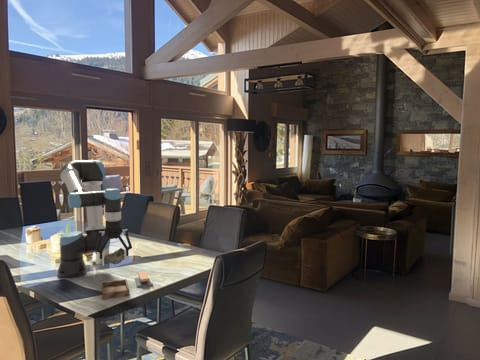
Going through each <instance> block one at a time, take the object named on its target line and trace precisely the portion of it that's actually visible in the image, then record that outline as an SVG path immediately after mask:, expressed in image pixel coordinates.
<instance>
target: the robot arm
mask: <svg viewBox="0 0 480 360" xmlns="http://www.w3.org/2000/svg"><path fill="white" fill-rule="evenodd" d="M59 178H60V180H61V181H62V182H63V183H64V184H65V186H66V189H67V191H68V193H67V204H68V207H69V208H70V209H80V208H86V217H87V218H86V219H87V220H86V221H87V227H86V229H85V232H84V233H83V231H80V230H77V231H75V230H74V231H70V232H66V233H64V234H62V235H61V236H60V238H59V248H60V253H59V254H60V263H59V266H58V269H57V277H59V278H63V279H72V278H78V277H82V276H83V275H85V274H86V273H87V272H88V270H87V266H86V263H85V260H84V255H86V254H92V253H99V259H100V260H102V261H101V262H102V265H101V266H102V267H105V262H104V257H105V252H104V251H108V249H109V248H110V245H111V240H114V239H115V240H116V239H118V240H119V241H120V243H121V245H122V246H123V247H124V248H123V249H124V264H127V257H129V253H130V252H129V250H131V249H133V245H132V243H131V239H130V236H129V229H127V228H126V229H123V227H122V194H121V193H122V191H121V189H120V188H106V189H103V190H101V189H102V188H101V185H102V184H103V182H104V180H105V179H106V168H105V165H104V163H103V161H101V160H100V159H97V160H96V159H88V160H87V159H86V160H85V159H81V160H70V161H68V162H67V163H65V164H64V165H63V166H62V167H61V169H60V171H59ZM103 206H104V213H103ZM103 215H104V216H103ZM104 218H105V222H104ZM104 223H105V225H104ZM122 234H124V235H125V238H126V241H127V244H128V245H127V244H126V242H125V241H124V239H123V238H122Z"/></svg>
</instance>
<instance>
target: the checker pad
mask: <svg viewBox="0 0 480 360" xmlns="http://www.w3.org/2000/svg"><path fill="white" fill-rule="evenodd" d="M137 275H138V278H140V281H141V282H142V281H149V277H148V275H149V274H148V272H147V271H140V272H139V271H138V272H137Z"/></svg>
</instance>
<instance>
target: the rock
mask: <svg viewBox="0 0 480 360" xmlns="http://www.w3.org/2000/svg"><path fill="white" fill-rule="evenodd" d="M124 249H125V248H122V247H120V248H119V249H117V250H115V251H114V252H110V253H108V254H106V255H104V263H107V264H113V265H118V264H120V263H122V261H123V260H124Z"/></svg>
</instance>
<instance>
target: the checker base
mask: <svg viewBox="0 0 480 360" xmlns="http://www.w3.org/2000/svg"><path fill="white" fill-rule="evenodd" d="M148 277H149V281H142V282H141V281H140V278H139V277H134V281H135V286H136V288H137V289H139V287H140V288H146V287H147V286H148V287H154V283H153V280H152V278H151V276H150V274H148Z"/></svg>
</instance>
